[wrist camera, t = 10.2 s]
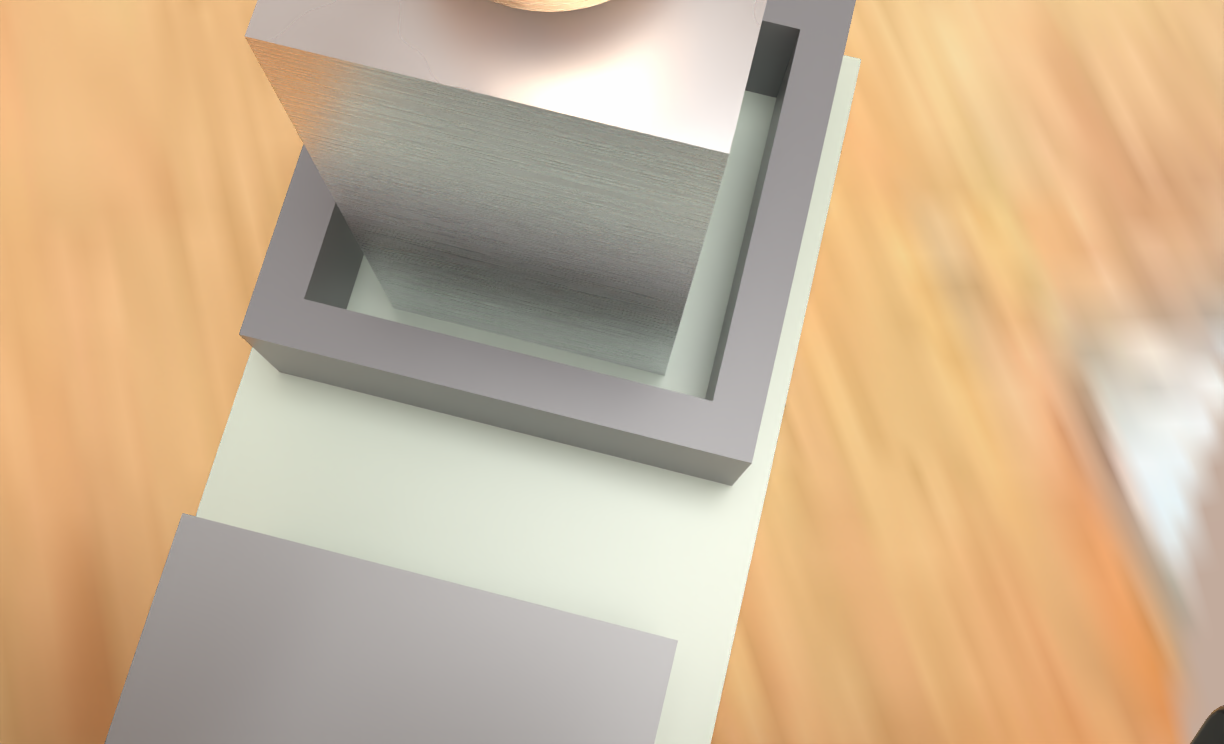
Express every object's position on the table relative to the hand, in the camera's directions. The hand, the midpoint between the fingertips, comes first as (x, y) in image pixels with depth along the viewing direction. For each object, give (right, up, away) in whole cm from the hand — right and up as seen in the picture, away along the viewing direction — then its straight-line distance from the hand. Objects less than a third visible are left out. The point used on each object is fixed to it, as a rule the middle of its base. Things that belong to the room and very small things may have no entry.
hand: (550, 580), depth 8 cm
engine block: (-1, +4, +13) cm, 14 cm away
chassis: (-2, 0, +14) cm, 14 cm away
